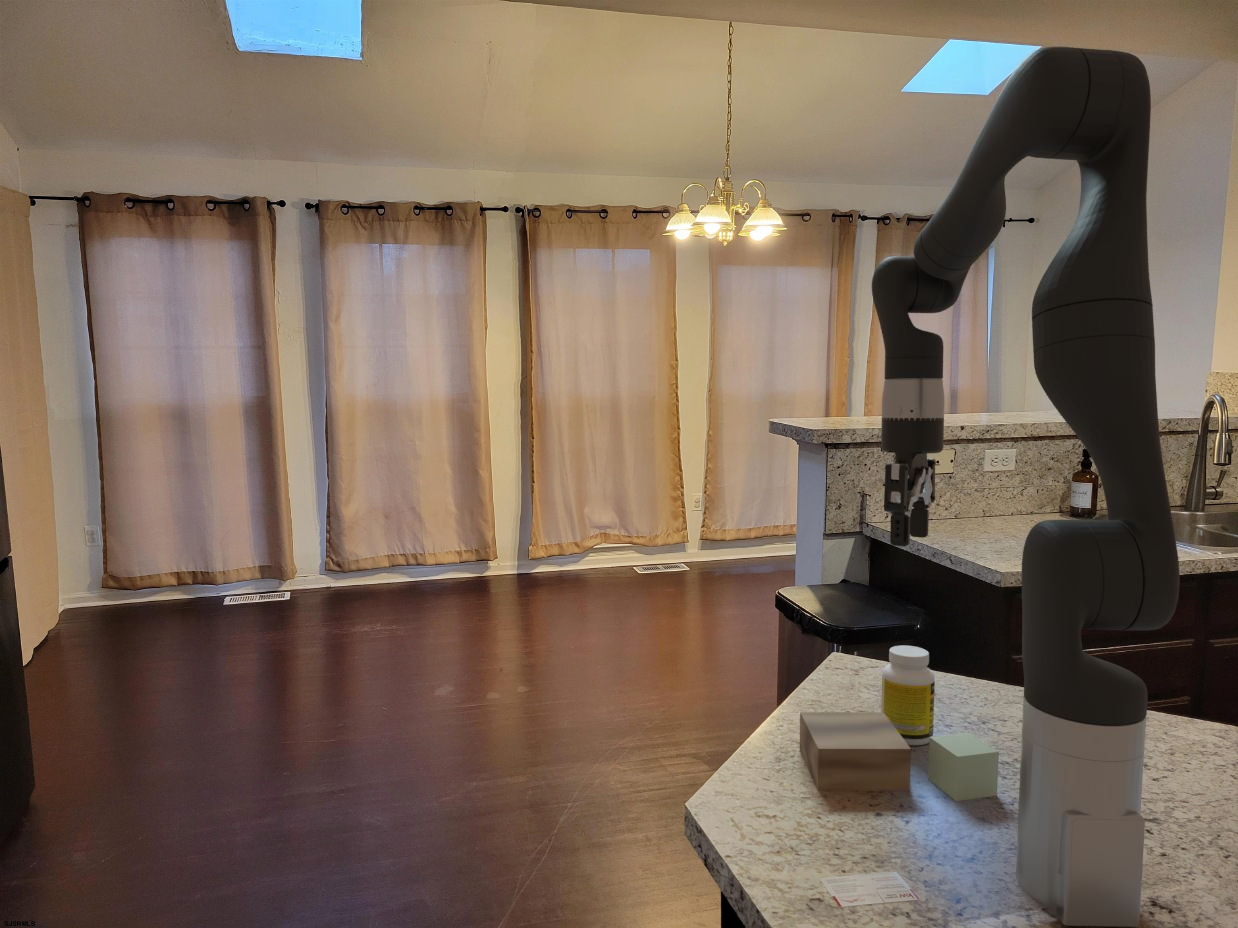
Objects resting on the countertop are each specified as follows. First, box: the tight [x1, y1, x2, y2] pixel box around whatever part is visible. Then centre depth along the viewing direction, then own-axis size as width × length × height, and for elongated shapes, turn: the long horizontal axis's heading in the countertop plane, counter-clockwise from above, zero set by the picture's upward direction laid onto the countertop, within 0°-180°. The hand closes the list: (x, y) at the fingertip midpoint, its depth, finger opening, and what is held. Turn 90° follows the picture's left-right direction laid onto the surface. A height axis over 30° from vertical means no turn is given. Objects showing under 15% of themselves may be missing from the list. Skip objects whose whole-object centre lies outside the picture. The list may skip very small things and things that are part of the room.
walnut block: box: [799, 711, 912, 792], centre depth 95 cm, size 10×10×5 cm
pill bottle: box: [880, 644, 936, 746], centre depth 103 cm, size 6×6×11 cm
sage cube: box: [927, 732, 1000, 802], centre depth 90 cm, size 5×5×5 cm
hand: (909, 540), depth 107 cm, fingers open, 8 cm apart
